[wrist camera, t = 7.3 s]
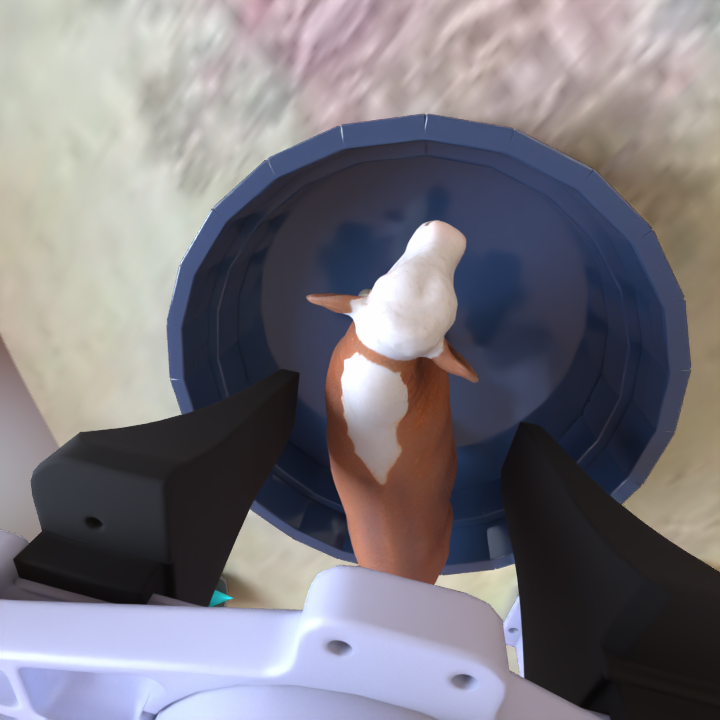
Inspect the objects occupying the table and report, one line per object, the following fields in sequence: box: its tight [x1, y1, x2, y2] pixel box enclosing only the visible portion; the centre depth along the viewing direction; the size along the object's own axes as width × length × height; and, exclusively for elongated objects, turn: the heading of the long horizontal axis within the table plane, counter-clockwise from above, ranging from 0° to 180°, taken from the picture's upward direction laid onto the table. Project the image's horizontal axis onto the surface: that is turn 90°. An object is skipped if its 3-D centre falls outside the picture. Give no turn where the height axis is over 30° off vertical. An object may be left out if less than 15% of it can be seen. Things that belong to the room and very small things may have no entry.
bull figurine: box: [306, 220, 479, 585], centre depth 15 cm, size 4×13×8 cm, turn 0°
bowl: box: [167, 114, 691, 575], centre depth 17 cm, size 17×17×4 cm
